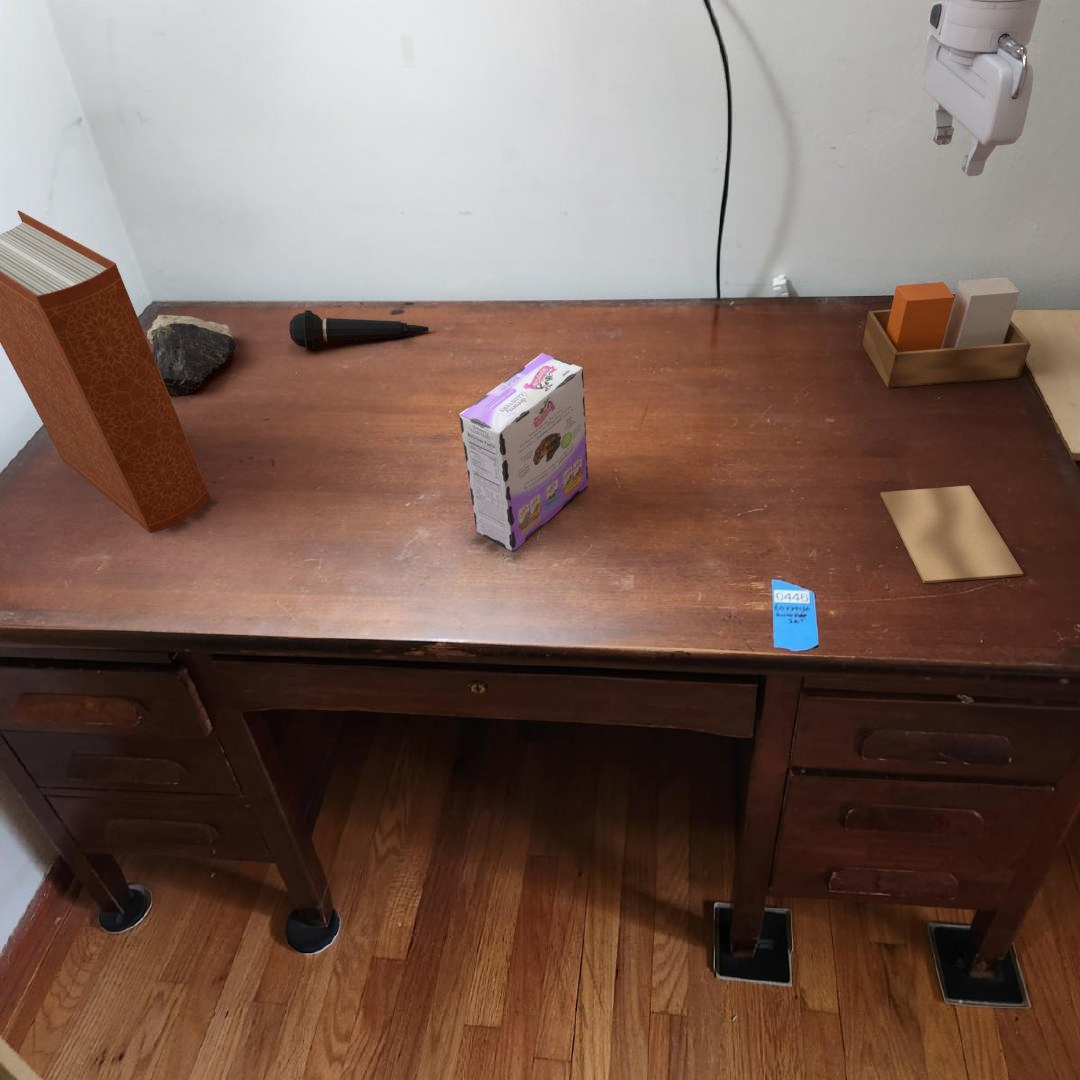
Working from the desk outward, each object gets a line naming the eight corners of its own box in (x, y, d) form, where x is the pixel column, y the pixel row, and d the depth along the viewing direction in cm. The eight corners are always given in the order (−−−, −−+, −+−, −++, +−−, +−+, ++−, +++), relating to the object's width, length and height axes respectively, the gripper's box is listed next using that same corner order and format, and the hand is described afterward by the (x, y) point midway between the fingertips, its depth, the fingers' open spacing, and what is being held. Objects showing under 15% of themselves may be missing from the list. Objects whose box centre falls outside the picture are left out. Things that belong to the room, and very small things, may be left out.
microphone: (428, 344, 138) (292, 346, 135) (427, 305, 136) (289, 307, 133) (429, 352, 133) (289, 354, 130) (428, 312, 131) (285, 313, 128)
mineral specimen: (219, 297, 134) (239, 335, 123) (233, 343, 139) (253, 384, 128) (130, 317, 130) (142, 359, 119) (146, 364, 135) (160, 408, 124)
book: (63, 460, 117) (-56, 237, 96) (121, 430, 121) (18, 210, 101) (154, 536, 105) (41, 300, 84) (215, 500, 109) (121, 266, 89)
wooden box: (985, 334, 125) (995, 301, 122) (1019, 378, 117) (1031, 343, 114) (861, 343, 125) (868, 310, 122) (887, 388, 117) (895, 354, 114)
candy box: (550, 469, 109) (542, 349, 98) (590, 487, 107) (586, 366, 95) (474, 532, 102) (455, 411, 91) (513, 553, 99) (500, 431, 88)
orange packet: (925, 350, 123) (943, 281, 116) (936, 366, 120) (955, 296, 113) (880, 353, 123) (896, 285, 116) (890, 369, 120) (906, 300, 113)
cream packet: (985, 345, 122) (1006, 276, 116) (997, 361, 120) (1020, 291, 113) (940, 349, 123) (959, 280, 116) (951, 365, 120) (971, 295, 113)
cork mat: (968, 488, 102) (969, 485, 102) (1022, 576, 92) (1023, 573, 92) (879, 494, 102) (880, 492, 102) (923, 583, 92) (924, 580, 92)
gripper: (1064, 48, 87) (1021, 191, 97) (980, -3, 102) (951, 125, 112) (997, 54, 87) (961, 196, 97) (924, 1, 102) (899, 129, 112)
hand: (955, 157), depth 104 cm, fingers open, 8 cm apart
